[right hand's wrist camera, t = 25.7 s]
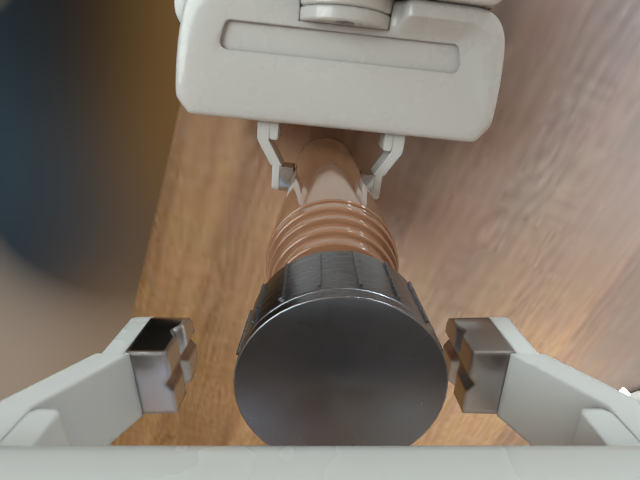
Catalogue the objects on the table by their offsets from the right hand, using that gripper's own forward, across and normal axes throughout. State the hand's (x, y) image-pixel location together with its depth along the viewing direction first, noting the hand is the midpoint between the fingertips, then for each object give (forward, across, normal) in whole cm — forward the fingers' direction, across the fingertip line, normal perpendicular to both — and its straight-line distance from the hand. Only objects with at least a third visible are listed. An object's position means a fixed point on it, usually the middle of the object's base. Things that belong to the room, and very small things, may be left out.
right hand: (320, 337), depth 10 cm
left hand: (+18, 0, 0) cm, 18 cm away
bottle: (+24, 0, 0) cm, 24 cm away
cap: (-2, 0, 0) cm, 2 cm away
